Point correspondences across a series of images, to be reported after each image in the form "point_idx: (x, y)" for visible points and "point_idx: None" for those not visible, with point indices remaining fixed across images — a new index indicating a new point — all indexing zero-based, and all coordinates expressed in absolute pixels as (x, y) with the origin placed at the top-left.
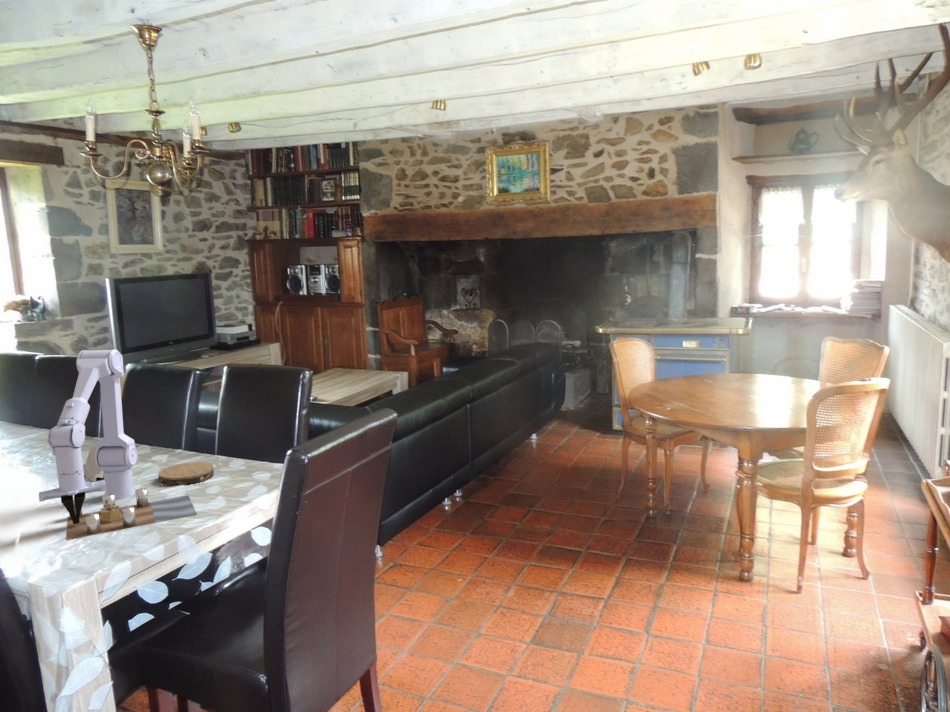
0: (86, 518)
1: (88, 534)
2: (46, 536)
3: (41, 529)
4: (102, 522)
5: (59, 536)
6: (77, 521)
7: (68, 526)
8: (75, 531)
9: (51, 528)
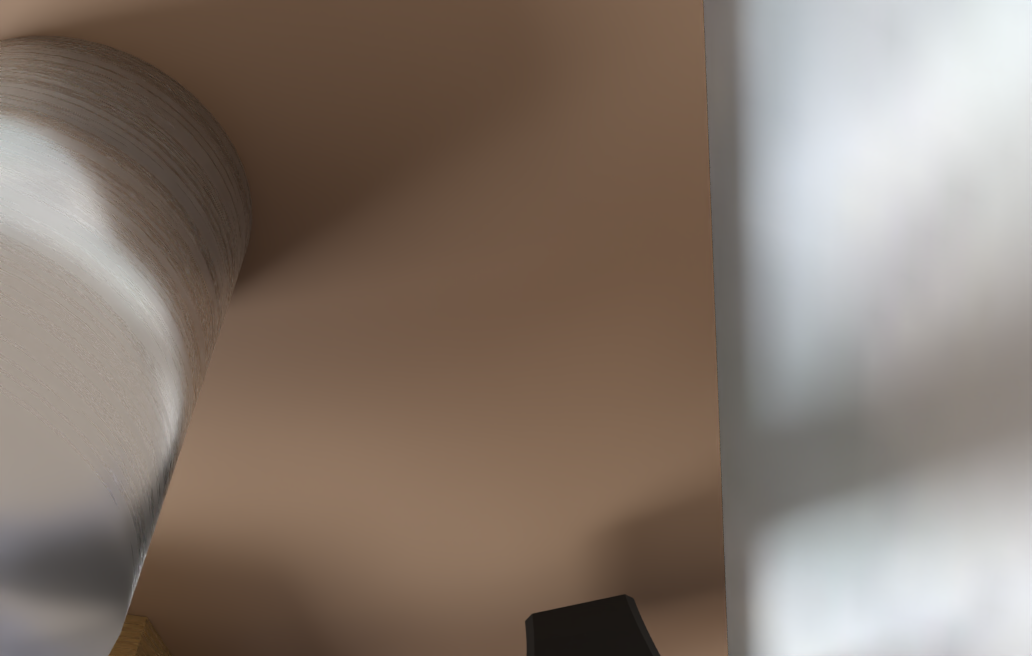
0: (16, 348)
1: (167, 56)
2: (1007, 394)
3: (1023, 636)
4: (130, 623)
5: (818, 330)
6: (559, 638)
7: (703, 602)
8: (551, 364)
9: (910, 639)
